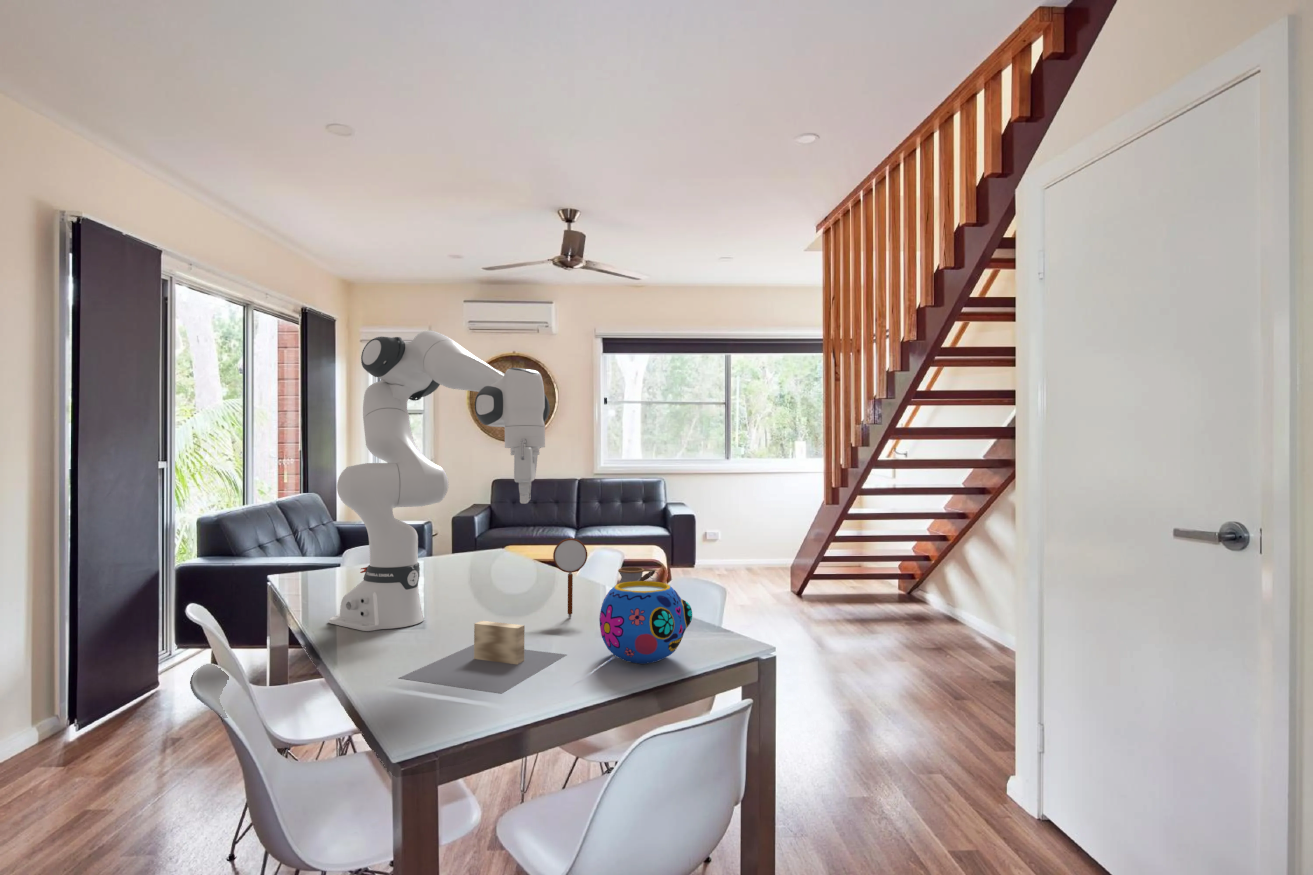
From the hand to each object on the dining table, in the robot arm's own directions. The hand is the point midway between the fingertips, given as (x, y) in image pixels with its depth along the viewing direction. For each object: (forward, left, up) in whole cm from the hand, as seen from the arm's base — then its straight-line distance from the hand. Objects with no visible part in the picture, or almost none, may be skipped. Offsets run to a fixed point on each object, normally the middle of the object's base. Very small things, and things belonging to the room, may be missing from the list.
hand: (525, 502), depth 152 cm
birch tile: (+3, -15, -30) cm, 34 cm away
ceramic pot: (+29, -3, -31) cm, 43 cm away
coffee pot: (+18, +22, -31) cm, 42 cm away
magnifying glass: (-1, +23, -31) cm, 39 cm away
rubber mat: (+3, -19, -31) cm, 36 cm away
